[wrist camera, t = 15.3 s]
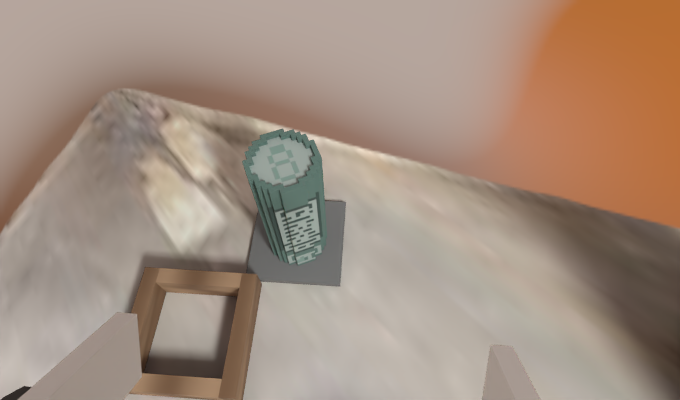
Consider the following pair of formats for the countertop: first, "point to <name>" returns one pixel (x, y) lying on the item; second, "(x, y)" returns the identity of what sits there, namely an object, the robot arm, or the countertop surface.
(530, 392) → the robot arm
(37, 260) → the countertop surface
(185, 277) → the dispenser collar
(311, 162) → the can
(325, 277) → the mat
